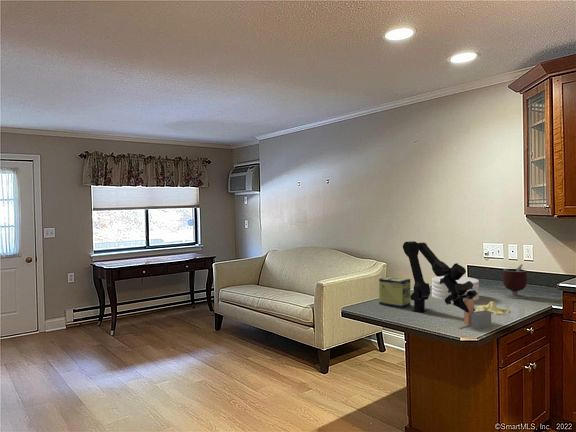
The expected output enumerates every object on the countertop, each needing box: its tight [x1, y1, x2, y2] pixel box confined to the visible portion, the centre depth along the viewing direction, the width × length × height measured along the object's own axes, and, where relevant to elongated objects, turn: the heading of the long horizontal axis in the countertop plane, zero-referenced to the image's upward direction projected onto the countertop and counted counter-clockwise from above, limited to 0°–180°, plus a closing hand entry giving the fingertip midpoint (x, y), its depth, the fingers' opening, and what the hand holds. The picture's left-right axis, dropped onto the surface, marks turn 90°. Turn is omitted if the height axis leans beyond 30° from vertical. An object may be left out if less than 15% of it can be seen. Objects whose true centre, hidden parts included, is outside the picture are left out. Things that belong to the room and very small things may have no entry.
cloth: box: [475, 300, 510, 316], centre depth 242 cm, size 22×19×6 cm
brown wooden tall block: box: [463, 298, 475, 325], centre depth 216 cm, size 2×4×12 cm, turn 120°
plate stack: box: [431, 276, 480, 302], centre depth 280 cm, size 28×28×12 cm
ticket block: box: [457, 310, 492, 330], centre depth 210 cm, size 6×17×7 cm, turn 120°
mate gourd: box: [502, 264, 528, 300], centre depth 278 cm, size 16×14×20 cm
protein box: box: [378, 276, 412, 309], centre depth 260 cm, size 10×16×16 cm
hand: (471, 311), depth 215 cm, fingers closed on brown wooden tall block, 4 cm apart
